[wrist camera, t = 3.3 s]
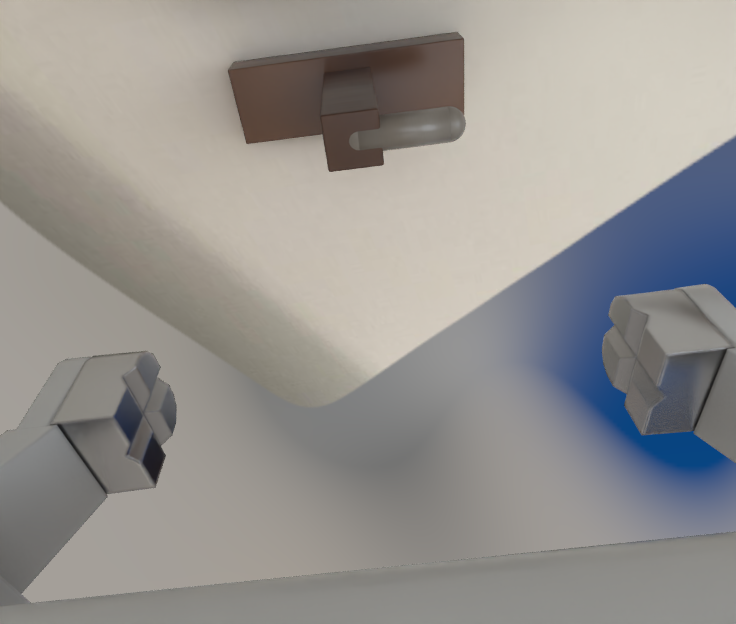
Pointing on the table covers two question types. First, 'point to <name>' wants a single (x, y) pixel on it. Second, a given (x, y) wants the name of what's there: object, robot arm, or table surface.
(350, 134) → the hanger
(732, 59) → the table surface
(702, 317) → the robot arm
